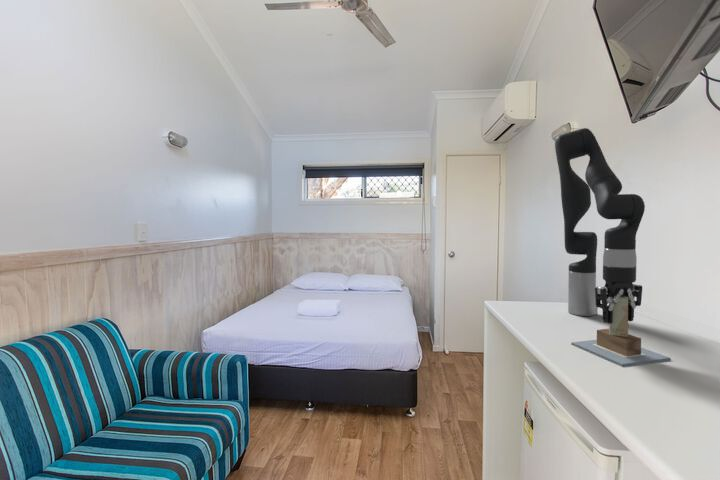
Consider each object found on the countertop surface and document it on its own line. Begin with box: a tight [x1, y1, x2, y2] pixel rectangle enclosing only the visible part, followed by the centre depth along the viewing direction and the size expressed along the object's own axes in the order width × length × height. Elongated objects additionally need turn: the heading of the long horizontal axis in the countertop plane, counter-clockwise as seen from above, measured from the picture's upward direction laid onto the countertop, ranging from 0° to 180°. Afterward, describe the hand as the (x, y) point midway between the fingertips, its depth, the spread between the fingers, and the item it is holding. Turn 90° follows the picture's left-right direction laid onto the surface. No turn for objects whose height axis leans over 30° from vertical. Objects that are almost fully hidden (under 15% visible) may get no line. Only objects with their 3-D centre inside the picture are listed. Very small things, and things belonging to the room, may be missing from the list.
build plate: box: [570, 339, 672, 367], centre depth 95 cm, size 16×16×1 cm
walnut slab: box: [596, 327, 642, 356], centre depth 95 cm, size 5×9×4 cm, turn 11°
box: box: [608, 297, 629, 337], centre depth 95 cm, size 5×4×11 cm
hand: (618, 321), depth 95 cm, fingers open, 6 cm apart
